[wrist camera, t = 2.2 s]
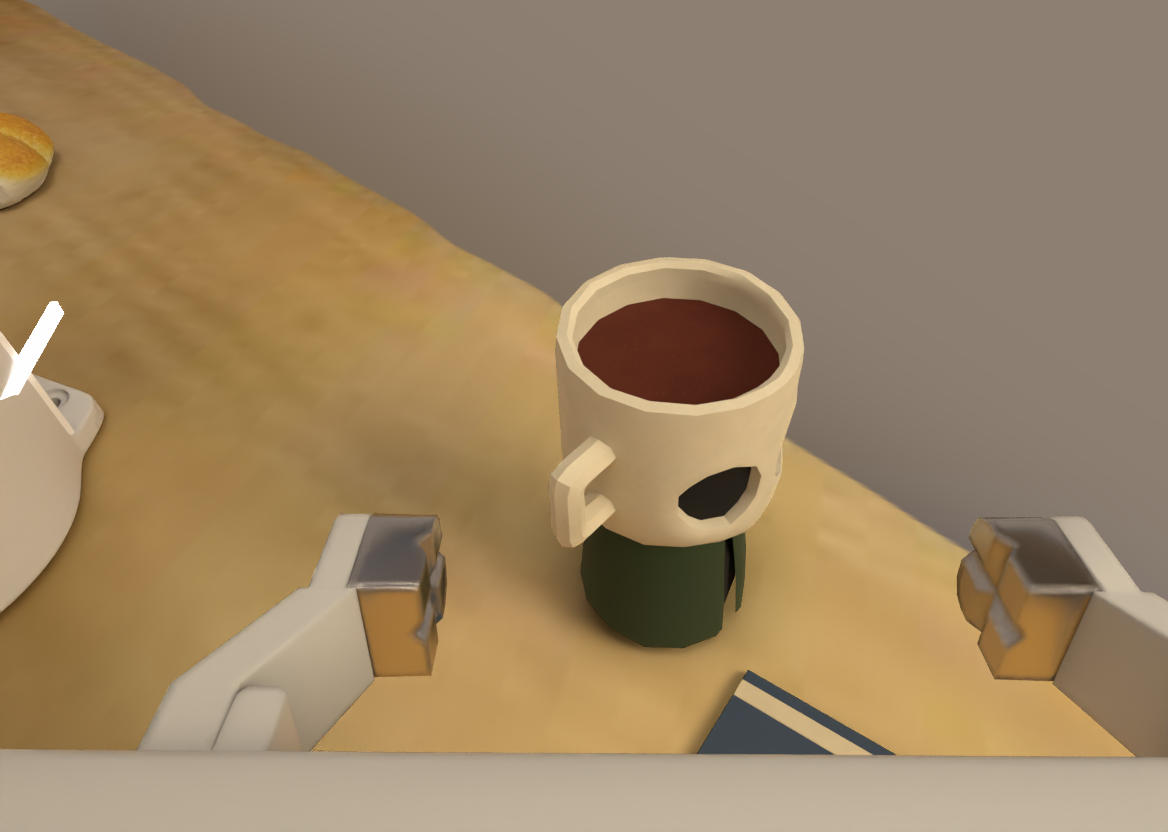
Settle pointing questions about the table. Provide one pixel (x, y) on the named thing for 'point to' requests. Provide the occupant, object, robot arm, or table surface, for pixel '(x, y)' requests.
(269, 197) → the table surface
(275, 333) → the table surface
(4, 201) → the bread roll
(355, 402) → the table surface
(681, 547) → the character mug
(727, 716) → the napkin
